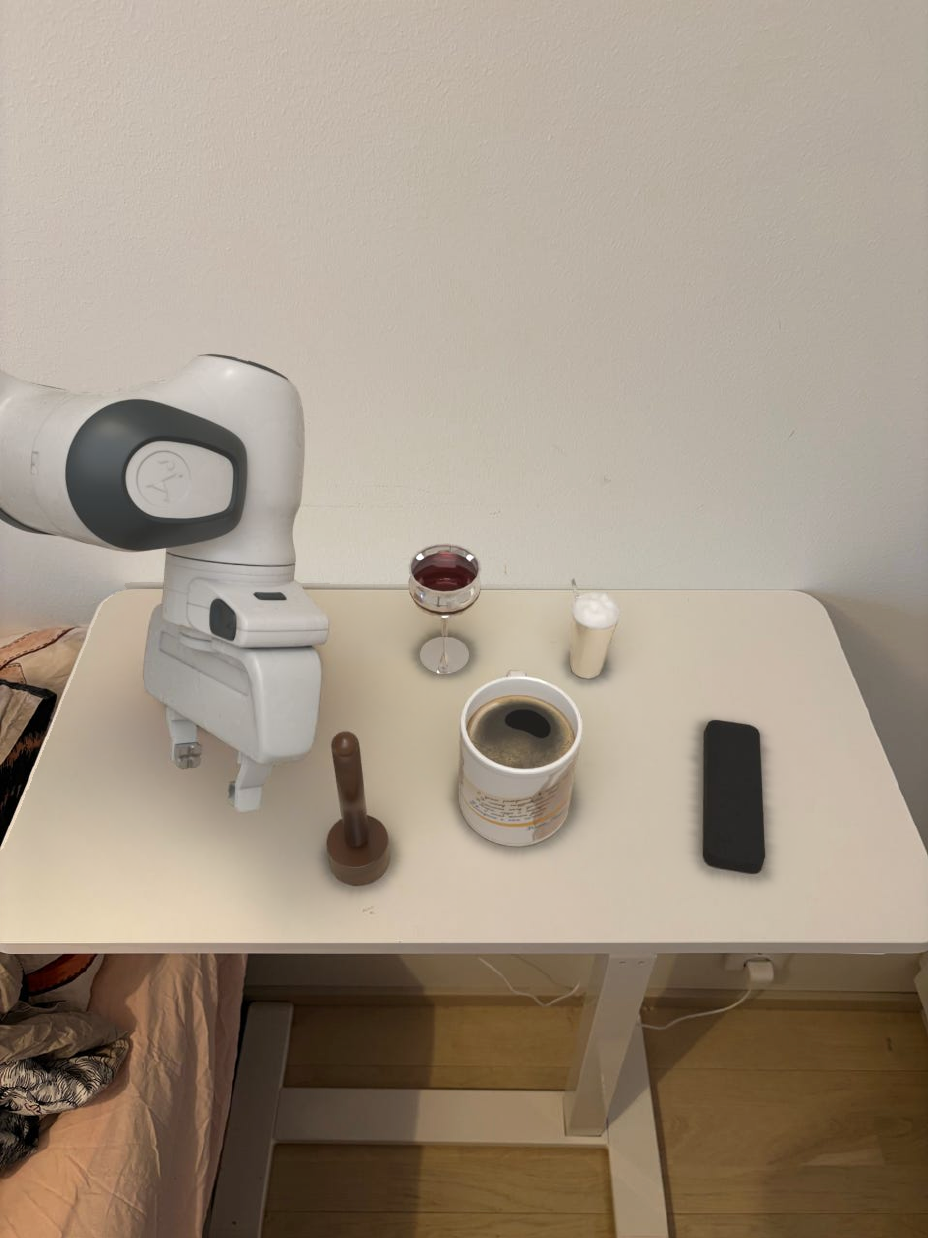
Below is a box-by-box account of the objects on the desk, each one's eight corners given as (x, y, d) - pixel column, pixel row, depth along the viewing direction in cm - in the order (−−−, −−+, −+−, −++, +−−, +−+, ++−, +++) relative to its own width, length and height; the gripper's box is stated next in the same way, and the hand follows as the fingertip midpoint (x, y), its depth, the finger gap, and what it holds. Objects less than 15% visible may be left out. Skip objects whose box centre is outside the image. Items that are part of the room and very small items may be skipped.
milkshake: (577, 638, 96) (588, 567, 88) (618, 667, 93) (632, 596, 86) (547, 661, 93) (556, 590, 86) (588, 691, 91) (601, 621, 84)
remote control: (761, 878, 78) (756, 732, 88) (766, 869, 76) (761, 721, 86) (701, 868, 78) (703, 724, 88) (705, 858, 77) (707, 713, 87)
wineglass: (468, 625, 97) (471, 538, 88) (486, 673, 92) (490, 586, 84) (404, 636, 95) (400, 549, 87) (419, 686, 91) (416, 599, 82)
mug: (429, 802, 82) (428, 725, 74) (508, 716, 89) (515, 637, 81) (528, 868, 78) (538, 794, 70) (603, 773, 84) (620, 696, 76)
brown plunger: (336, 893, 76) (315, 773, 64) (324, 840, 79) (302, 717, 67) (395, 877, 77) (386, 757, 65) (382, 826, 80) (371, 702, 68)
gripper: (127, 574, 71) (116, 748, 73) (256, 626, 56) (238, 844, 58) (205, 576, 75) (192, 741, 77) (344, 625, 60) (324, 828, 62)
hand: (213, 786), depth 68 cm, fingers open, 8 cm apart
